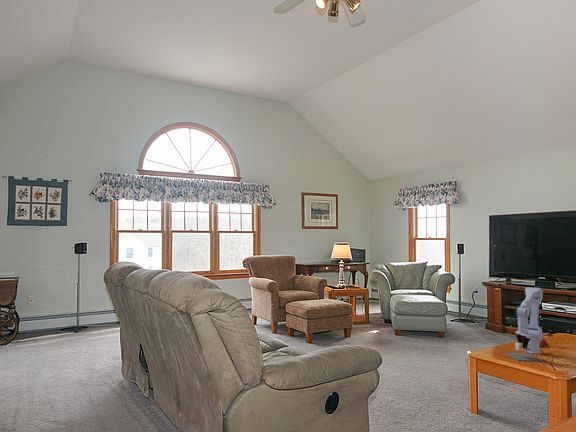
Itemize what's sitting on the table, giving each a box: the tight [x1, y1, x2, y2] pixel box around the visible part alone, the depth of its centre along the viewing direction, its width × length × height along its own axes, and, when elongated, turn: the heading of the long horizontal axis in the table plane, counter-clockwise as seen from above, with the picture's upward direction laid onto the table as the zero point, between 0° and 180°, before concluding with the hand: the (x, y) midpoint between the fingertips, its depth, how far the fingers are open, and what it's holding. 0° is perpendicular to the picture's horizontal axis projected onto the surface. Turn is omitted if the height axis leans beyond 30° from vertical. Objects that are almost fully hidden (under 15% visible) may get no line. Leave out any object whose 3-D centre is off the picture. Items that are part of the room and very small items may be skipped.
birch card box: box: [514, 342, 531, 352], centre depth 294 cm, size 8×4×4 cm, turn 90°
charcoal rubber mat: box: [504, 352, 544, 362], centre depth 294 cm, size 18×16×1 cm
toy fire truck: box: [539, 332, 554, 348], centre depth 329 cm, size 3×14×10 cm, turn 101°
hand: (523, 347), depth 294 cm, fingers closed on birch card box, 4 cm apart
